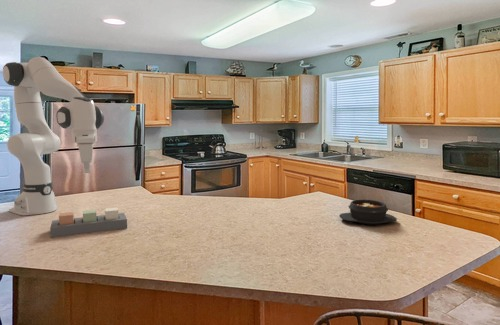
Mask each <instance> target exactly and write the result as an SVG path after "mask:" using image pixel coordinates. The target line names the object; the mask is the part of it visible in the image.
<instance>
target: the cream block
mask: <svg viewBox="0 0 500 325" xmlns="http://www.w3.org/2000/svg"><path fill="white" fill-rule="evenodd" d="M118 213H119V209H118V207H109V208H108V207H107V208H104V215H105V220H110V219H119V215H118Z"/></svg>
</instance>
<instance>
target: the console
mask: <svg viewBox="0 0 500 325" xmlns="http://www.w3.org/2000/svg"><path fill="white" fill-rule="evenodd" d="M118 215H119V219H110V220H105V214H100V215H96V217H97V221H93V222H84V223H83V216H82V217H74V224H66V225H59V219H53V220H51V225H50V227H49V231H50V239H55V238H63V237H64V238H65V237H69V236H70V237H71V236H78V235H80V236H81V235H86V234H94V233H101V232H109V231H110V232H111V231H119V230H125V229H128V219H127V216H126V214H125V212H120V213H119V212H118Z"/></svg>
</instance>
